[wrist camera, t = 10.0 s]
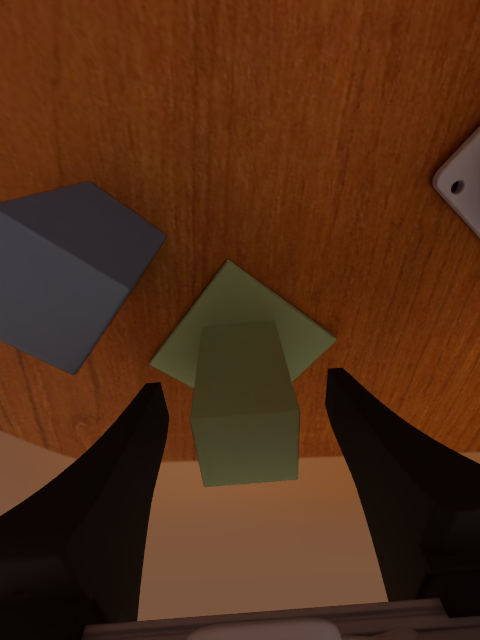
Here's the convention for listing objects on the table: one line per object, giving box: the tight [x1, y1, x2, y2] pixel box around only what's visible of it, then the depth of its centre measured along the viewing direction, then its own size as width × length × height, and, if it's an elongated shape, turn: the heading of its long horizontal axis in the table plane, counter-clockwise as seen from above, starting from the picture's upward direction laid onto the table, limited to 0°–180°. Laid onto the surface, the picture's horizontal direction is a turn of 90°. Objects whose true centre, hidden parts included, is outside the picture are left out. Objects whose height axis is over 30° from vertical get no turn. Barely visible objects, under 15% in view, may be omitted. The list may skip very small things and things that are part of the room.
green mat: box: [149, 260, 337, 388], centre depth 16 cm, size 7×7×1 cm
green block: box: [190, 321, 300, 487], centre depth 13 cm, size 4×4×6 cm
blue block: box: [0, 181, 167, 375], centre depth 11 cm, size 4×4×6 cm
